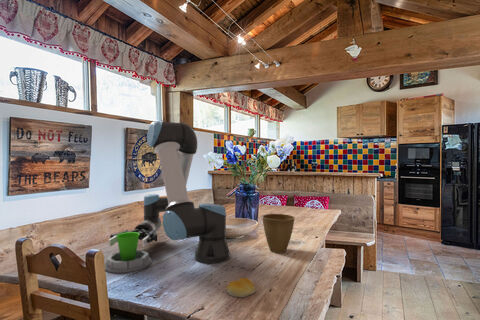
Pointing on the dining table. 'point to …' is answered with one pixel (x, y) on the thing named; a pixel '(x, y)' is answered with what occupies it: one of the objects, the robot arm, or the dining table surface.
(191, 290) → the dining table surface
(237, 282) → the bread roll
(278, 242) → the plant pot
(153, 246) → the dining table surface
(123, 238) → the cup
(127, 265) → the ring
